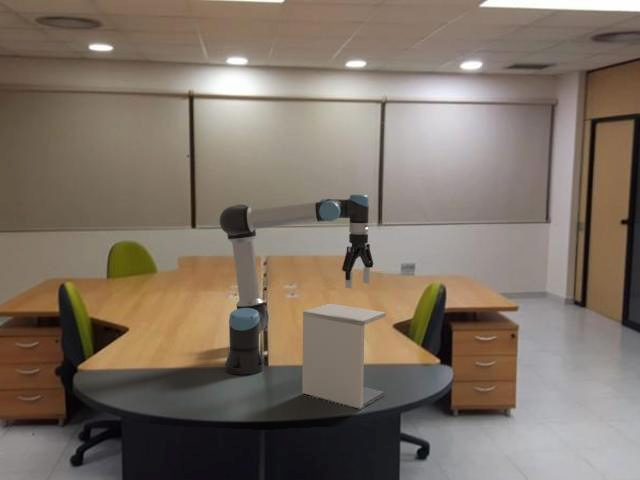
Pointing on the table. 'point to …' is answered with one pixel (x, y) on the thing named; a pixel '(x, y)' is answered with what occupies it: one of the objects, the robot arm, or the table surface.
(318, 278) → the table surface
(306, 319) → the shelf unit
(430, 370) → the table surface
